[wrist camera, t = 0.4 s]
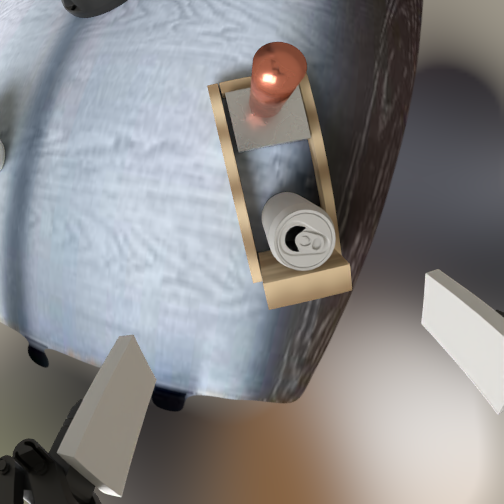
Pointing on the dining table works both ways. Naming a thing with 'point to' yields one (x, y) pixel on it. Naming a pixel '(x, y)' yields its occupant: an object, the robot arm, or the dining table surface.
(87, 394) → the robot arm
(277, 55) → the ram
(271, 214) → the beverage can
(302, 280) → the press frame
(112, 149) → the dining table surface
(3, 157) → the lidded jar
